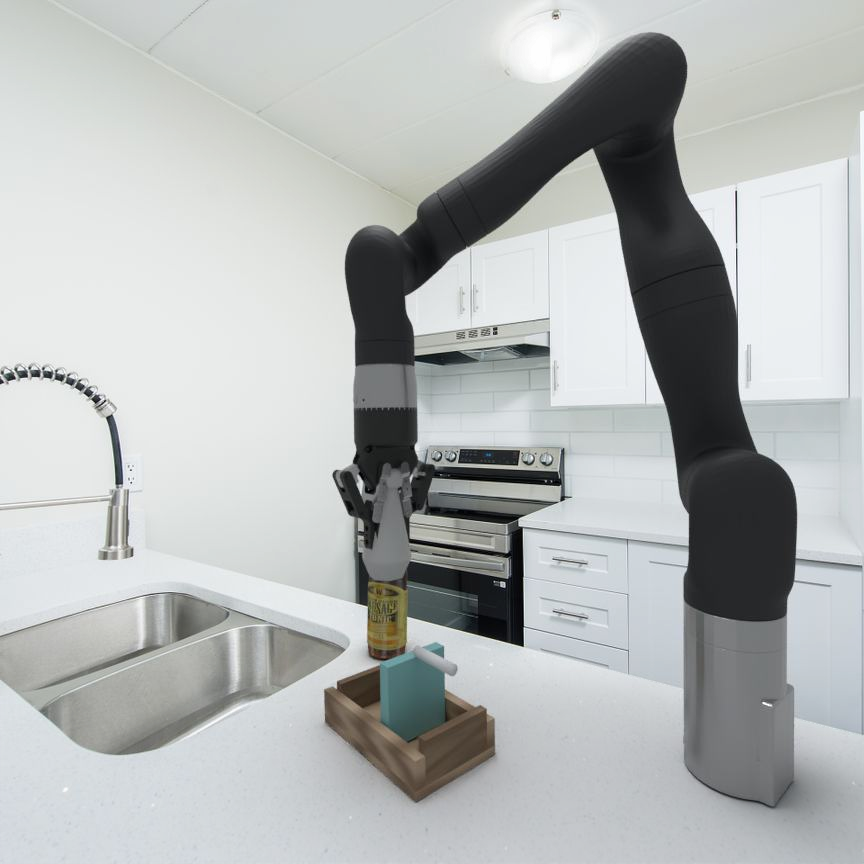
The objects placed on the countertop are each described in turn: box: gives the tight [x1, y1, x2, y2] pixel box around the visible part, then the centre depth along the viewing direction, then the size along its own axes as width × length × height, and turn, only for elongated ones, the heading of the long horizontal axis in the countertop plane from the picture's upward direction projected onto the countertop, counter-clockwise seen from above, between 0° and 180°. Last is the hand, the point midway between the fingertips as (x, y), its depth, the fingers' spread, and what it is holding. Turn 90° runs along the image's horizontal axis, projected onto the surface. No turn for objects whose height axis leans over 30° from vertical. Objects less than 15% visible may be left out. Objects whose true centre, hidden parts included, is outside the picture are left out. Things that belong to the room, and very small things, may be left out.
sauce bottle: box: [366, 568, 409, 660], centre depth 83 cm, size 7×6×20 cm
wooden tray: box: [323, 664, 496, 803], centre depth 61 cm, size 18×11×6 cm, turn 40°
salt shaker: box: [361, 468, 412, 581], centre depth 63 cm, size 6×6×13 cm
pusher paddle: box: [379, 642, 459, 742], centre depth 58 cm, size 8×8×10 cm
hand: (387, 549), depth 63 cm, fingers closed on salt shaker, 3 cm apart
